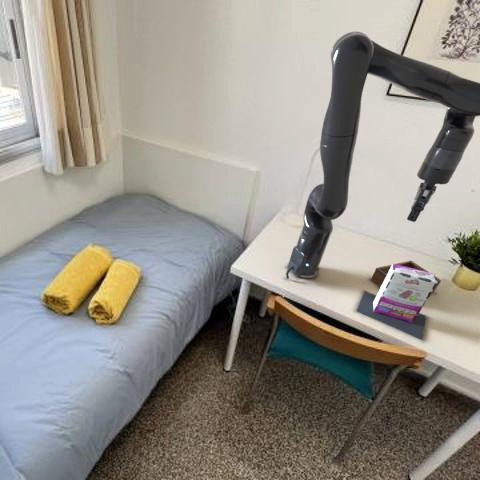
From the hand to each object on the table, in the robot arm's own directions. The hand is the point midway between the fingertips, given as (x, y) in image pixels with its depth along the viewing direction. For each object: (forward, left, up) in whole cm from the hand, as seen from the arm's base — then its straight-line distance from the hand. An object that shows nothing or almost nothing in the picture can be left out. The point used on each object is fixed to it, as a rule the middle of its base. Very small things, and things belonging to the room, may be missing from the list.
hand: (412, 215), depth 103 cm
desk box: (+12, -1, -30) cm, 32 cm away
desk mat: (-4, -10, -30) cm, 32 cm away
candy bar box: (-4, -10, -30) cm, 31 cm away
